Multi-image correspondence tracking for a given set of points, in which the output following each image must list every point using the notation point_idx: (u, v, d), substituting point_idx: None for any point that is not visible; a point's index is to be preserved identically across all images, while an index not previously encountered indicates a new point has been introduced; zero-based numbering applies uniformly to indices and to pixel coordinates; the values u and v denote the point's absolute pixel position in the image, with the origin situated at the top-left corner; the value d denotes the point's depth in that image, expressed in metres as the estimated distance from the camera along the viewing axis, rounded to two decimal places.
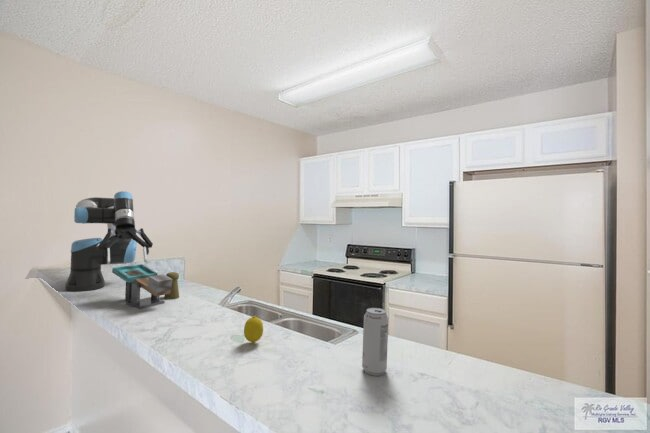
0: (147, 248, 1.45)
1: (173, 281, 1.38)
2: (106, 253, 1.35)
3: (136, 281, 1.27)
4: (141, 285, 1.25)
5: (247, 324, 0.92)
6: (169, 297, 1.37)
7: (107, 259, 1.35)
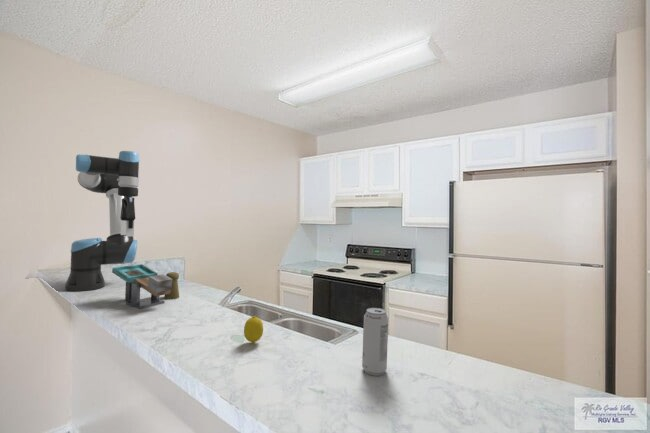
0: (128, 222, 1.33)
1: (173, 281, 1.38)
2: None
3: (136, 281, 1.27)
4: (141, 285, 1.25)
5: (247, 324, 0.92)
6: (169, 297, 1.37)
7: (126, 230, 1.45)
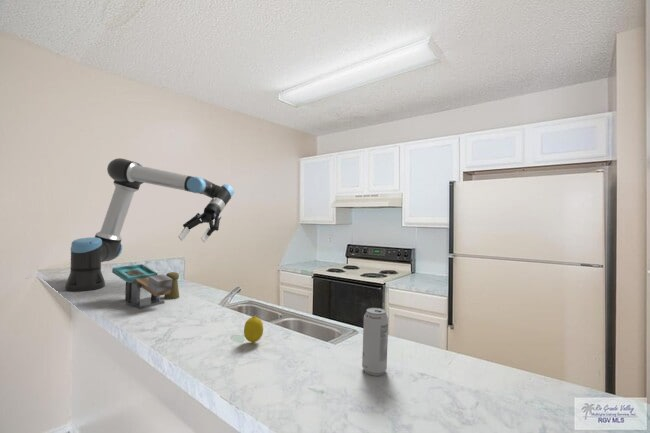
0: (210, 230, 1.50)
1: (173, 281, 1.38)
2: (183, 231, 1.54)
3: (136, 281, 1.27)
4: (141, 285, 1.25)
5: (247, 324, 0.92)
6: (169, 297, 1.37)
7: None
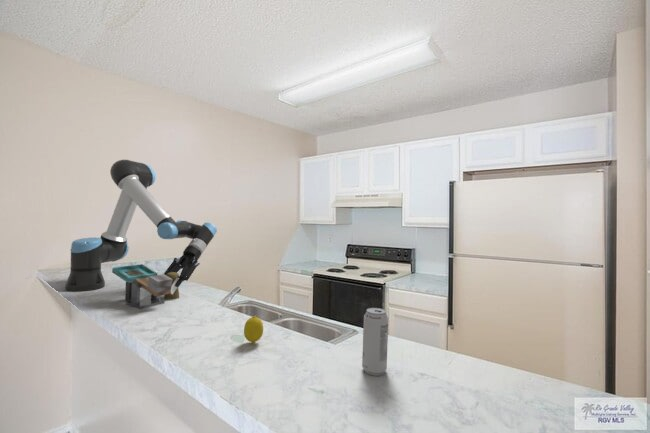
0: (179, 280, 1.38)
1: (173, 281, 1.38)
2: None
3: (136, 281, 1.27)
4: (141, 285, 1.25)
5: (247, 324, 0.92)
6: (169, 297, 1.37)
7: None
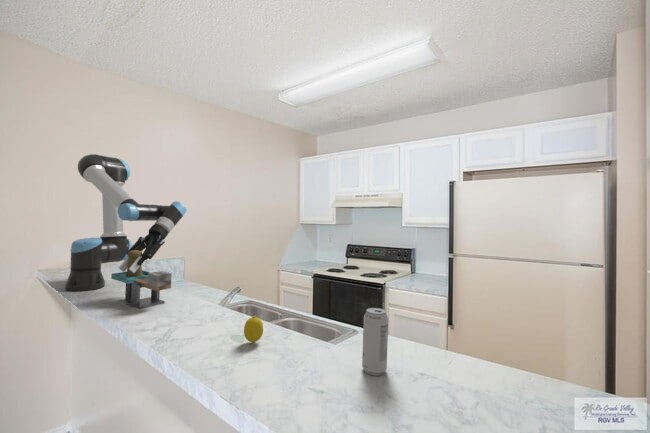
0: (141, 258, 1.32)
1: (135, 259, 1.32)
2: None
3: (136, 282, 1.27)
4: (141, 284, 1.25)
5: (247, 324, 0.92)
6: (131, 276, 1.31)
7: None
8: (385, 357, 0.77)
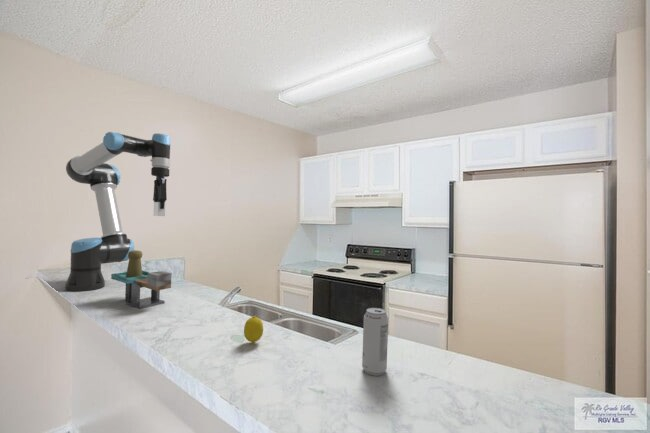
0: (160, 203, 1.45)
1: (135, 259, 1.32)
2: None
3: (136, 282, 1.27)
4: (141, 284, 1.25)
5: (247, 324, 0.92)
6: (131, 276, 1.31)
7: None
8: (385, 357, 0.77)
